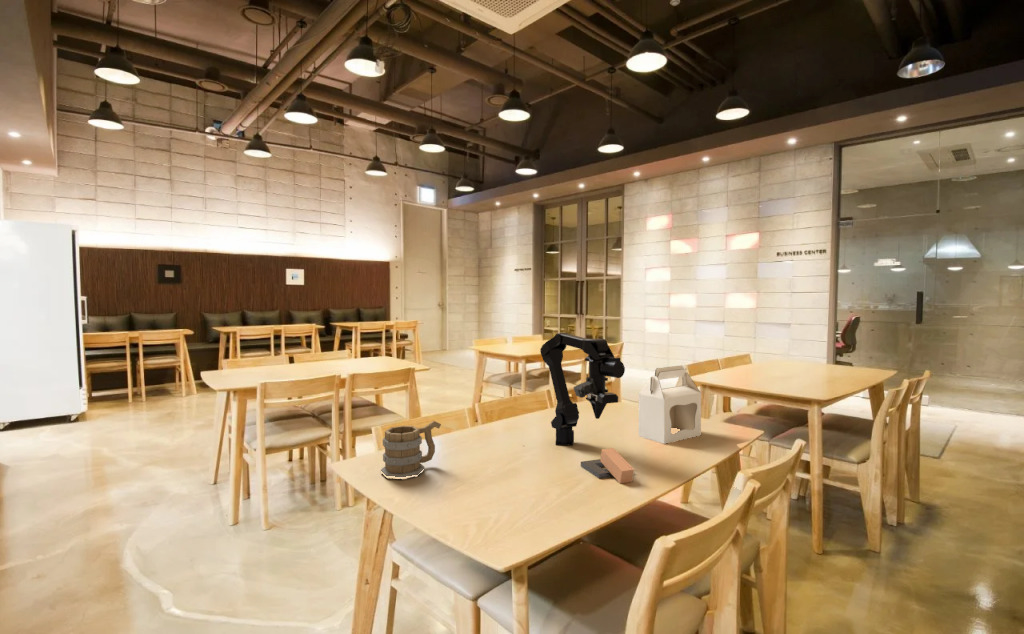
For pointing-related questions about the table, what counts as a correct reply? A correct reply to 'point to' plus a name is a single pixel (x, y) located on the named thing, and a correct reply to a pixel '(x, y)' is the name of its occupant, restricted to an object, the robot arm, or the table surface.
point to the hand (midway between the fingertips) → (597, 418)
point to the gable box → (669, 407)
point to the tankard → (407, 449)
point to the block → (617, 465)
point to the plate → (596, 468)
